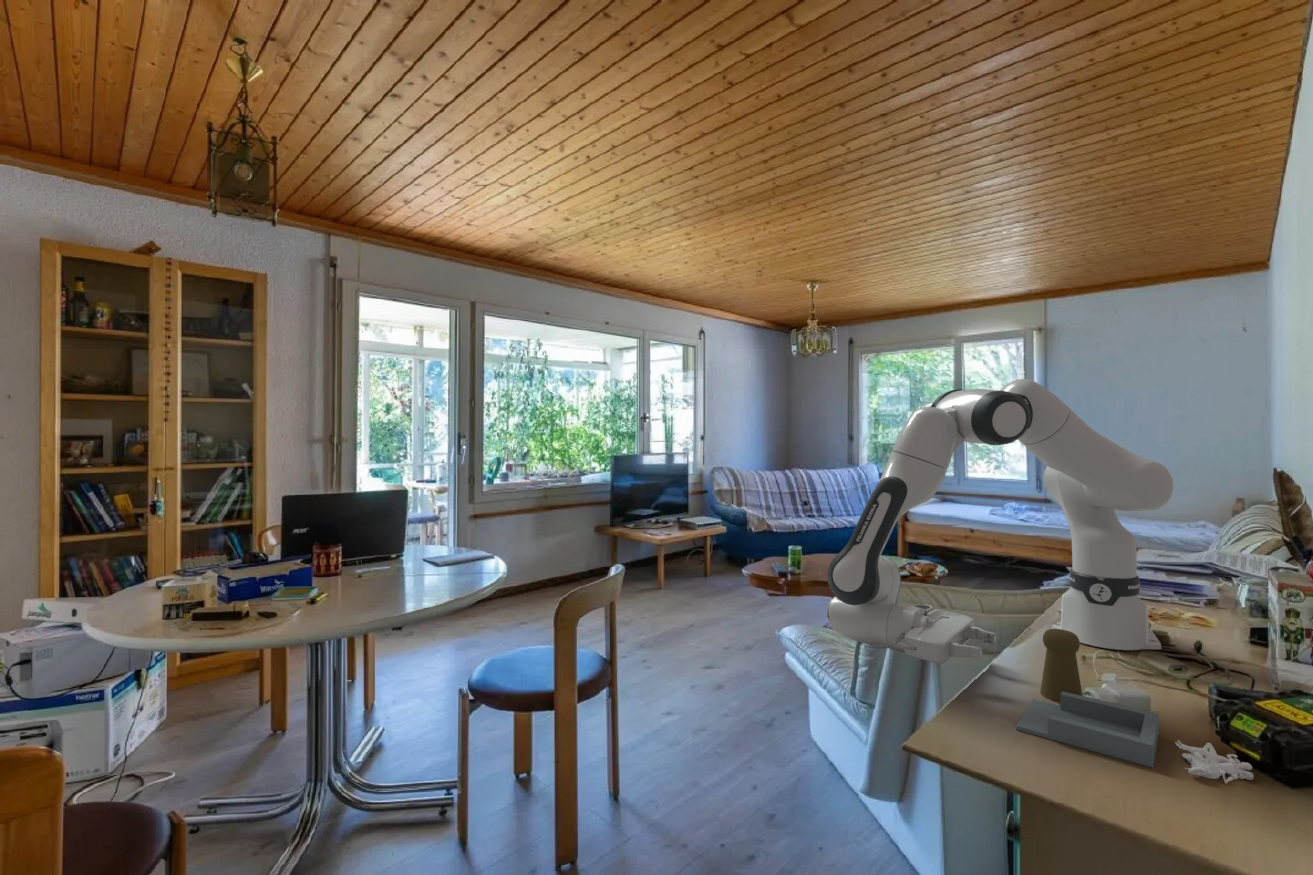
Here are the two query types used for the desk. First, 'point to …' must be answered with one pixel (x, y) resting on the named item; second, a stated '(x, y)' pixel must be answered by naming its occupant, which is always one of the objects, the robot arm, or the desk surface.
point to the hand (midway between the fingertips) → (988, 645)
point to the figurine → (1214, 763)
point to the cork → (1060, 664)
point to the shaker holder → (1095, 727)
